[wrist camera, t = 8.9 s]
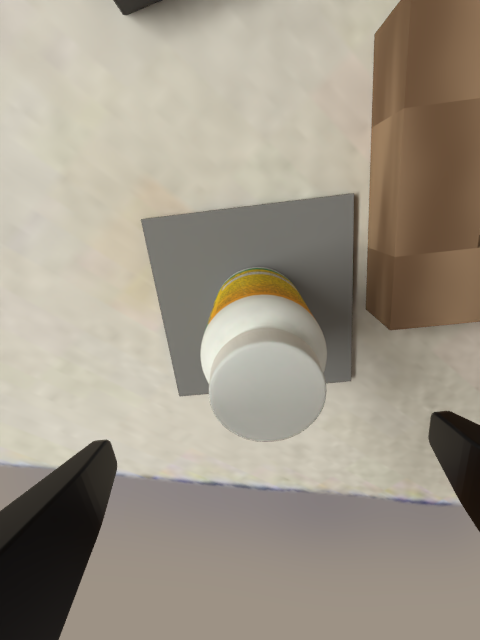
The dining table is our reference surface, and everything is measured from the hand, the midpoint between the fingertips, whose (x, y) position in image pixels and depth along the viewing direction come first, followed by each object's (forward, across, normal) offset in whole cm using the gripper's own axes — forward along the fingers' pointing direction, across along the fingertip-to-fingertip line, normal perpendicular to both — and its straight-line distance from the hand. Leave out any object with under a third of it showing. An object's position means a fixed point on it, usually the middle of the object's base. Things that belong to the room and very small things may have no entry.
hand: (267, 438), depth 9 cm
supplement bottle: (+12, 0, 0) cm, 12 cm away
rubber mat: (+12, 0, 0) cm, 12 cm away
